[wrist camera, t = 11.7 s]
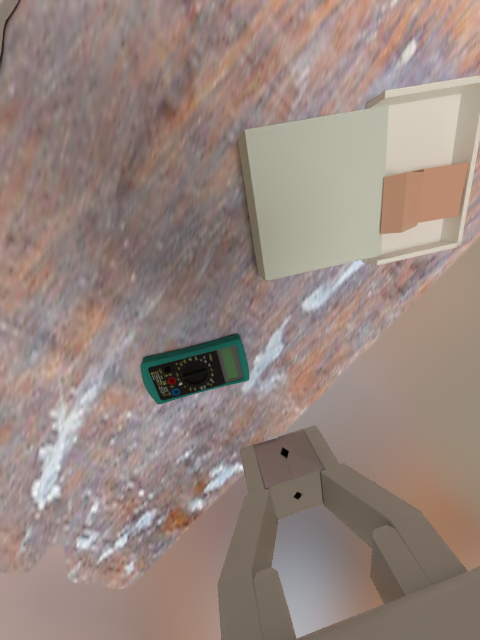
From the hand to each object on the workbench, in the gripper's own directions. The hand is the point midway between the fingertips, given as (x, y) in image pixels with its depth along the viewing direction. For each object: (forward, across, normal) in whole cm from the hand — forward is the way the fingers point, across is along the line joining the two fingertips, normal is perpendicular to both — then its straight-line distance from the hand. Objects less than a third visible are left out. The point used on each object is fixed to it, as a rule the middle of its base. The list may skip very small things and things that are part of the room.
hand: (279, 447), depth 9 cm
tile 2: (+22, -23, -5) cm, 33 cm away
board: (+25, -14, -7) cm, 29 cm away
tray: (+25, -28, -7) cm, 38 cm away
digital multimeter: (+26, +6, +12) cm, 29 cm away
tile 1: (+22, -30, -5) cm, 38 cm away
